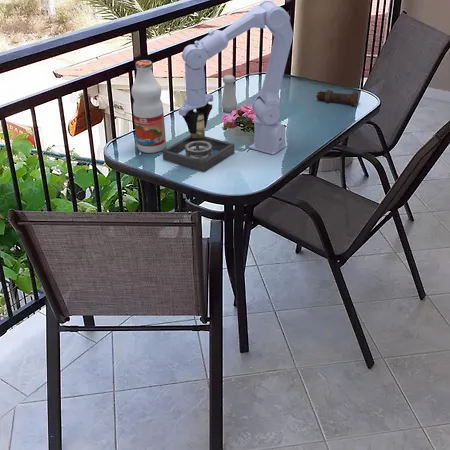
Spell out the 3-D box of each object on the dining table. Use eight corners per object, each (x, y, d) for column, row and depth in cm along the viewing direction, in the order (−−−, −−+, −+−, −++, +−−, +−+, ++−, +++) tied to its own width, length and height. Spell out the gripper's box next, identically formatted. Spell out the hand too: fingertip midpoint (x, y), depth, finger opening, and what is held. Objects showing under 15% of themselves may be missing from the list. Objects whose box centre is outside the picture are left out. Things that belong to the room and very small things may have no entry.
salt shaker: (235, 113, 215) (235, 78, 208) (220, 112, 216) (219, 78, 209) (238, 107, 220) (238, 73, 213) (223, 107, 221) (222, 73, 214)
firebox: (234, 152, 187) (234, 142, 185) (204, 172, 176) (203, 162, 174) (194, 141, 195) (193, 132, 193) (163, 159, 184) (162, 149, 182)
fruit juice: (171, 143, 194) (164, 59, 179) (158, 155, 187) (150, 68, 172) (145, 139, 197) (137, 56, 182) (132, 151, 190) (121, 65, 175)
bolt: (317, 104, 227) (356, 108, 221) (314, 101, 222) (353, 105, 216) (320, 89, 226) (359, 92, 220) (317, 86, 221) (356, 89, 216)
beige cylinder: (208, 134, 182) (207, 113, 178) (199, 139, 179) (197, 118, 175) (196, 131, 185) (195, 110, 181) (187, 136, 181) (185, 114, 178)
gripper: (199, 78, 181) (201, 119, 188) (169, 92, 171) (172, 135, 178) (218, 82, 177) (219, 124, 184) (188, 96, 167) (191, 140, 174)
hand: (197, 130), depth 181 cm, fingers closed on beige cylinder, 4 cm apart
